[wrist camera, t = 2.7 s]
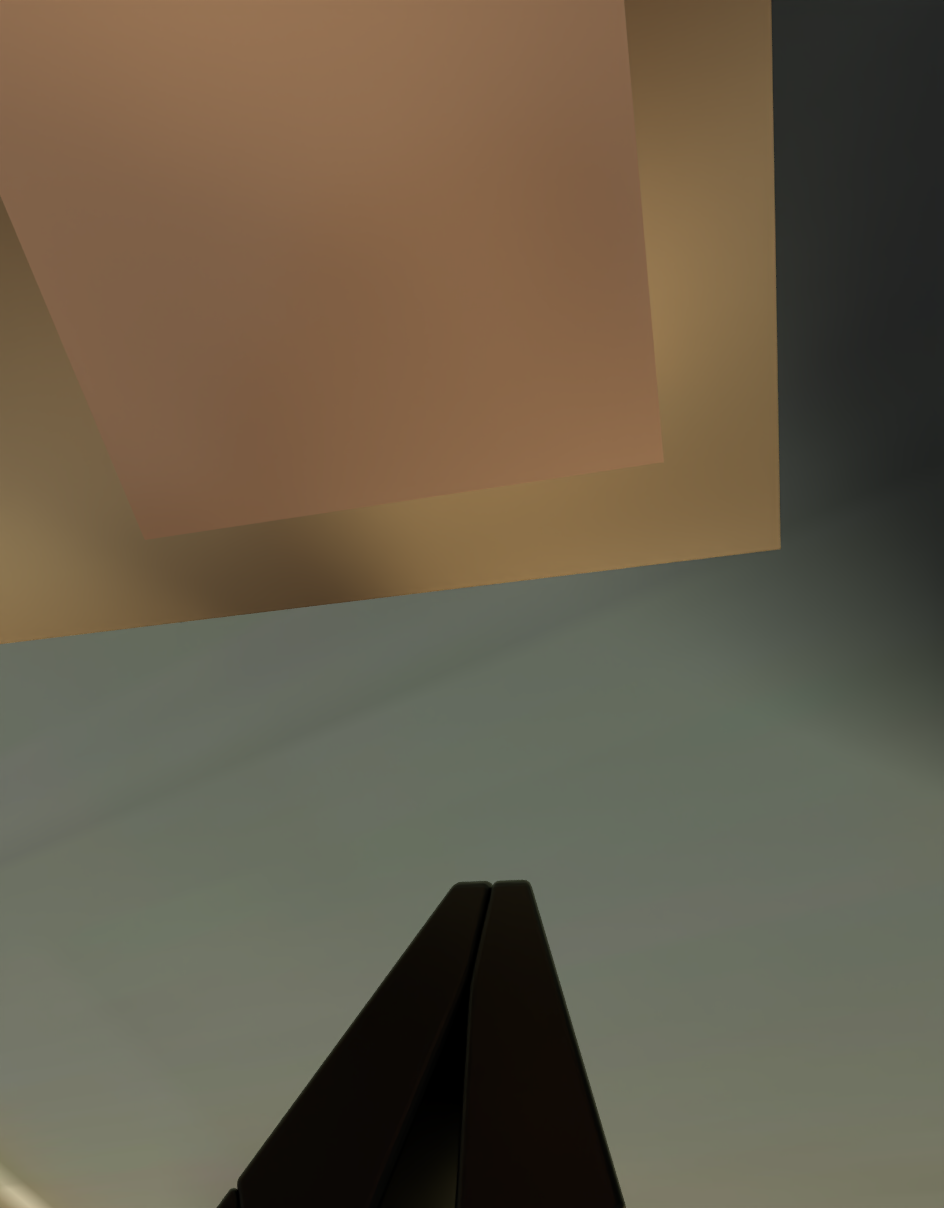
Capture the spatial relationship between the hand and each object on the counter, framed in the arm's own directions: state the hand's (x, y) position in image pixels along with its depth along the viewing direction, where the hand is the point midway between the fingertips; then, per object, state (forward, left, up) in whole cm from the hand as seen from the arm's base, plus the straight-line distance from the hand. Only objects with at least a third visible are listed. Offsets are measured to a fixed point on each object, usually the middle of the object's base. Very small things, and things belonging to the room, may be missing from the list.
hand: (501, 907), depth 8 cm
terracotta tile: (+7, 0, -2) cm, 7 cm away
